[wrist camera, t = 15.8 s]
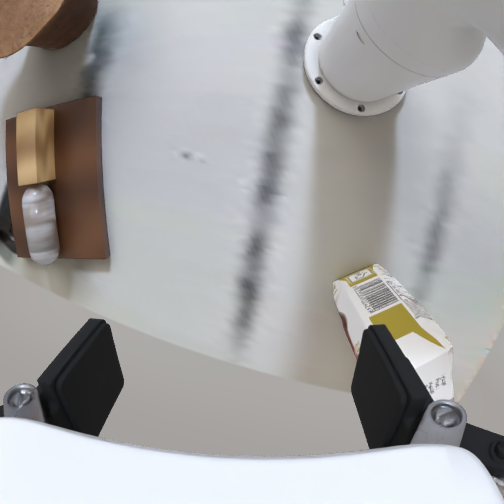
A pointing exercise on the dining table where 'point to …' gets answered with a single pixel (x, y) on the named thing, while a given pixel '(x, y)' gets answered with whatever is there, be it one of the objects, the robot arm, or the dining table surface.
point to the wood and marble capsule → (38, 182)
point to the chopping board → (68, 182)
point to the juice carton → (396, 324)
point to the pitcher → (42, 23)
